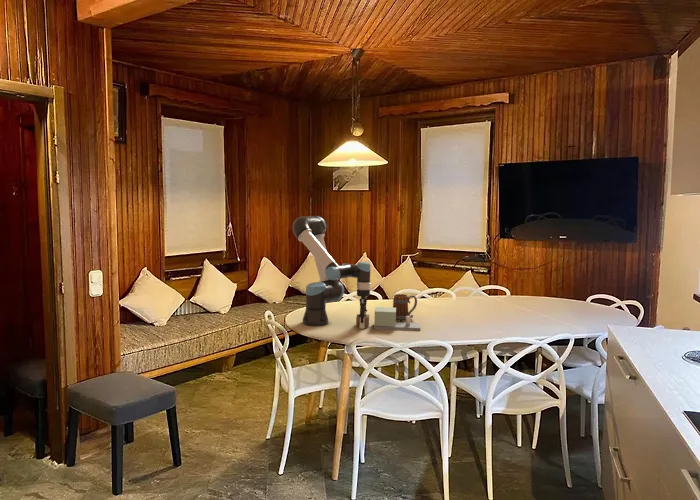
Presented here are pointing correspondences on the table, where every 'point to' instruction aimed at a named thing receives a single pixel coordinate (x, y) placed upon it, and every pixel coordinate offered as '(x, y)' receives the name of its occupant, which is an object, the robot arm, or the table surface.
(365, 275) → the robot arm
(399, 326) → the housing base
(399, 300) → the mug
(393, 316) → the cover
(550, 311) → the table surface
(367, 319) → the brown wooden cup
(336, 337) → the table surface
